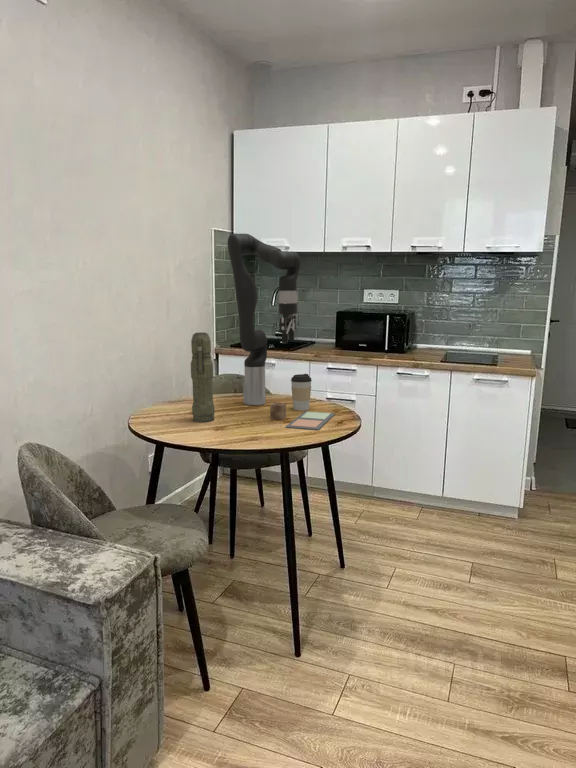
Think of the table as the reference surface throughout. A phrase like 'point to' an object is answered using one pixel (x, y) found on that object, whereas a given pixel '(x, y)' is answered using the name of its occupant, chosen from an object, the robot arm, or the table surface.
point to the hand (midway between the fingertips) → (288, 342)
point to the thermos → (202, 378)
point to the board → (311, 420)
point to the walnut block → (278, 411)
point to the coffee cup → (301, 391)
